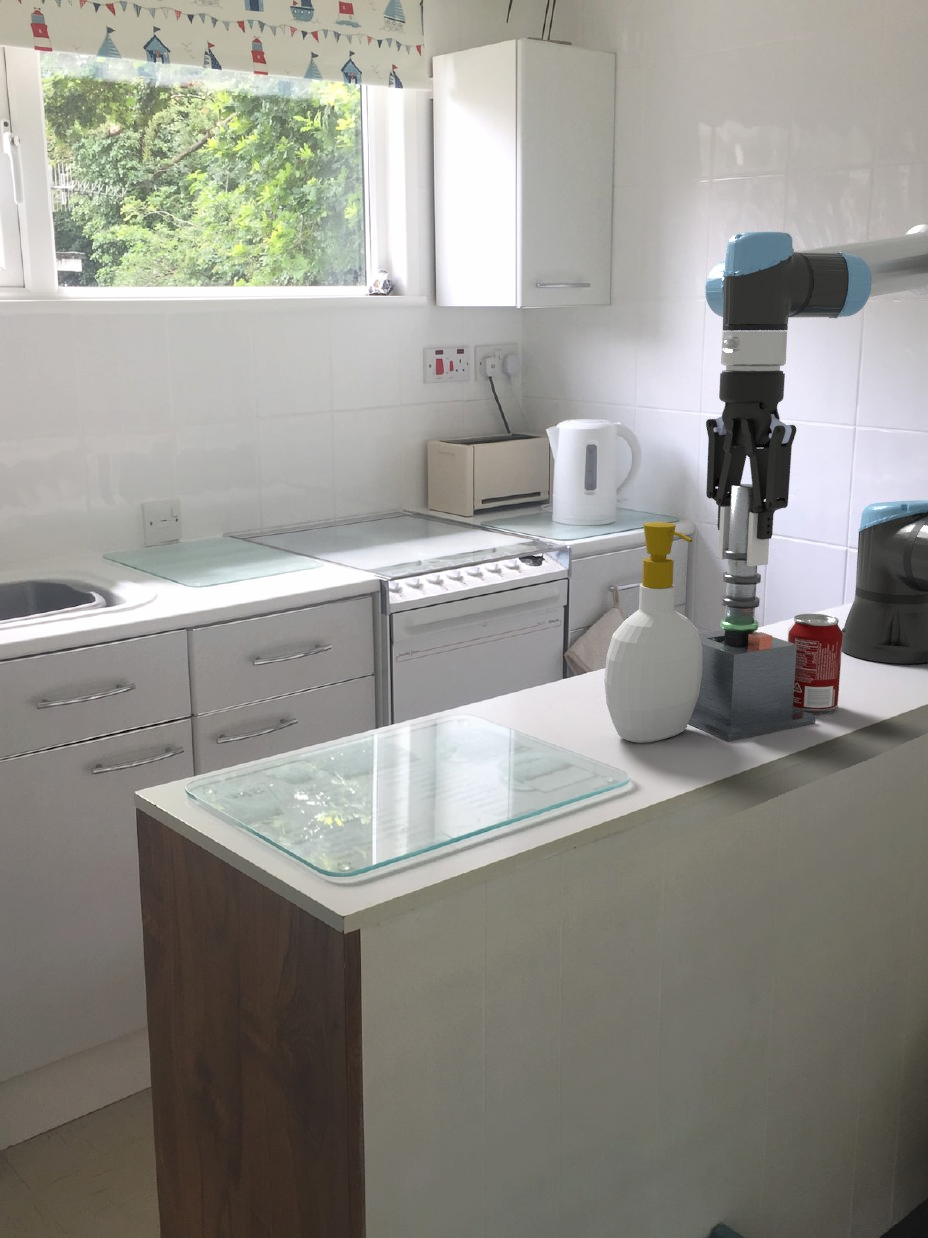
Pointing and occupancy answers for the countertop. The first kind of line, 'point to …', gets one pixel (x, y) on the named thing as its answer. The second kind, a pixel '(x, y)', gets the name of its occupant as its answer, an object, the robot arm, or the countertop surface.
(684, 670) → the soap bottle
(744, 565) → the column
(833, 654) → the soda can
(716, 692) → the sleeve
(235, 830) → the countertop surface
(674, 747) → the countertop surface
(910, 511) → the robot arm
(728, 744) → the countertop surface
